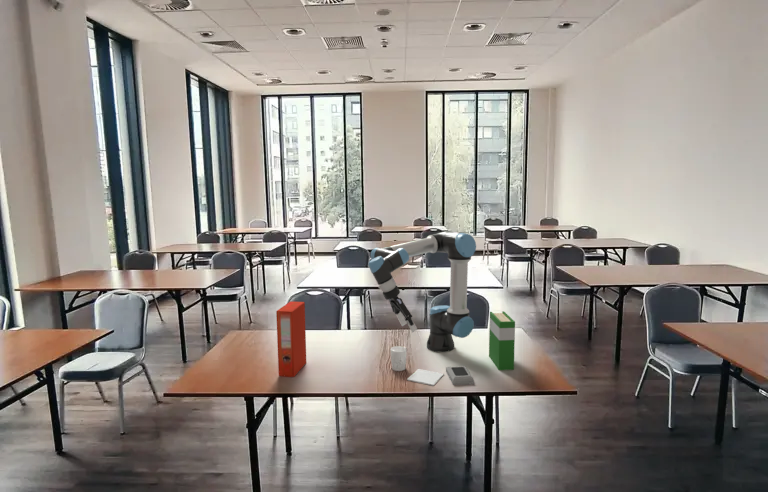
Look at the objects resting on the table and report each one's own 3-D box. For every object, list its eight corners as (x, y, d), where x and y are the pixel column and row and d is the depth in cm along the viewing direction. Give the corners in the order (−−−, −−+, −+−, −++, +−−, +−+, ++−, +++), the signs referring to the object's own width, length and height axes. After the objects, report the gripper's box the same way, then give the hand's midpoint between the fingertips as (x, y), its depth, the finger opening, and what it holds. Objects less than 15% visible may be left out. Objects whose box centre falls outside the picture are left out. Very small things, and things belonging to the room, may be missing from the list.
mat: (418, 369, 222) (418, 368, 222) (443, 374, 216) (443, 373, 216) (407, 380, 211) (407, 379, 211) (433, 385, 205) (433, 384, 205)
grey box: (465, 364, 220) (473, 377, 206) (465, 371, 221) (473, 384, 206) (446, 364, 220) (453, 378, 205) (445, 372, 220) (452, 386, 205)
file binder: (307, 362, 233) (304, 301, 228) (294, 377, 216) (292, 311, 211) (291, 362, 234) (289, 301, 230) (278, 376, 217) (275, 310, 213)
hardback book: (488, 356, 238) (489, 311, 235) (502, 355, 239) (504, 311, 235) (498, 370, 221) (499, 322, 217) (513, 369, 221) (515, 321, 218)
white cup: (408, 366, 227) (408, 346, 226) (404, 372, 220) (404, 352, 218) (392, 364, 229) (392, 345, 228) (388, 370, 222) (388, 351, 220)
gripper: (374, 289, 221) (394, 326, 225) (391, 296, 197) (412, 337, 201) (387, 281, 223) (406, 318, 227) (405, 287, 199) (426, 329, 203)
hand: (409, 327), depth 214 cm, fingers open, 13 cm apart
